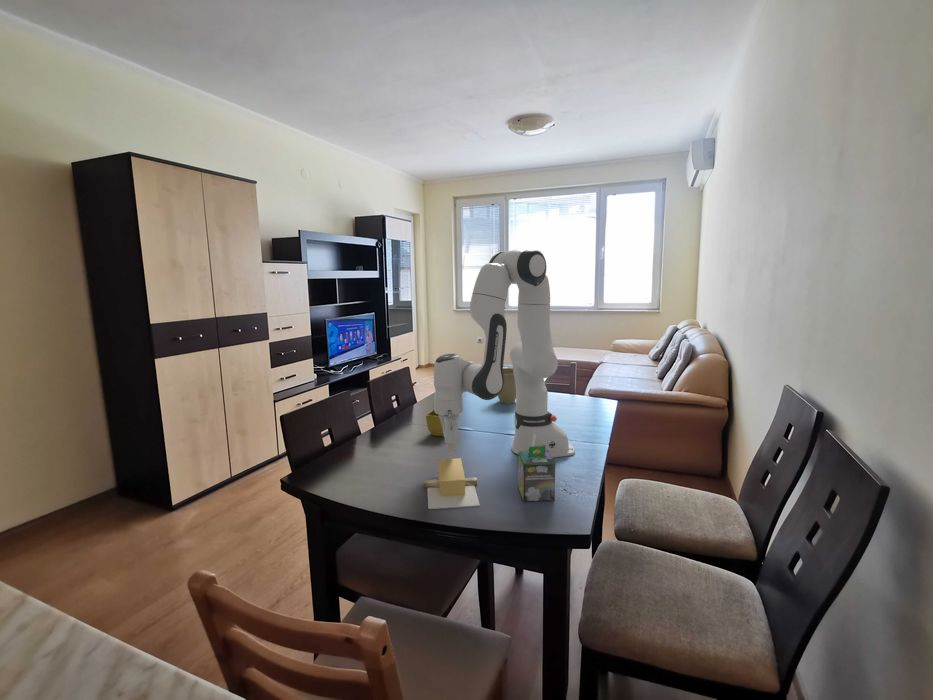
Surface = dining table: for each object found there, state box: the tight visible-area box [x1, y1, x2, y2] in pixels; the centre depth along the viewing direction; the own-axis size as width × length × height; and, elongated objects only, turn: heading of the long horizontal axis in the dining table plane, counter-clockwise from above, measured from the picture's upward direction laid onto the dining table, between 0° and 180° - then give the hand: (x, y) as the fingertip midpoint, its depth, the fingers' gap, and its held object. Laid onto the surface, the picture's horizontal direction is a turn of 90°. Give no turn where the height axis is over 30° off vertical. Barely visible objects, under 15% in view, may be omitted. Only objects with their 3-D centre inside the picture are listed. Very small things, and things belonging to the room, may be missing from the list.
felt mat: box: [426, 485, 481, 510], centre depth 126 cm, size 14×12×1 cm
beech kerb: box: [423, 476, 478, 489], centre depth 134 cm, size 16×2×2 cm, turn 96°
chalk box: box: [517, 446, 556, 502], centre depth 127 cm, size 9×9×15 cm
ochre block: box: [437, 457, 466, 496], centre depth 131 cm, size 7×5×11 cm
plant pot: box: [497, 367, 516, 405], centre depth 224 cm, size 15×15×16 cm
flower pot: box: [425, 408, 444, 437], centre depth 178 cm, size 9×9×9 cm
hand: (449, 448), depth 141 cm, fingers open, 8 cm apart
